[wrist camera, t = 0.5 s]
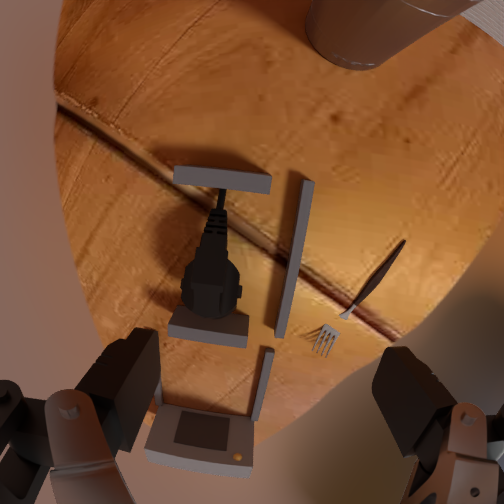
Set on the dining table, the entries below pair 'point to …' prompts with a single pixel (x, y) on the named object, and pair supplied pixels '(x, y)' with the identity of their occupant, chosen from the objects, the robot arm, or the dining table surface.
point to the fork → (359, 299)
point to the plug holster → (235, 325)
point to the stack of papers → (488, 18)
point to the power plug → (212, 270)
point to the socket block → (206, 435)
